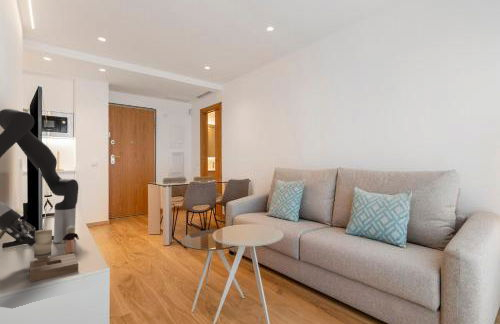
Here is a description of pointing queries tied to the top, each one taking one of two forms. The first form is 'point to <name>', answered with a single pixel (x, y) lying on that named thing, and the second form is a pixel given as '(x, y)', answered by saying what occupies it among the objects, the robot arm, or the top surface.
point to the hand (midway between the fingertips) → (37, 241)
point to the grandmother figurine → (70, 240)
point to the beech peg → (43, 244)
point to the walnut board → (53, 267)
